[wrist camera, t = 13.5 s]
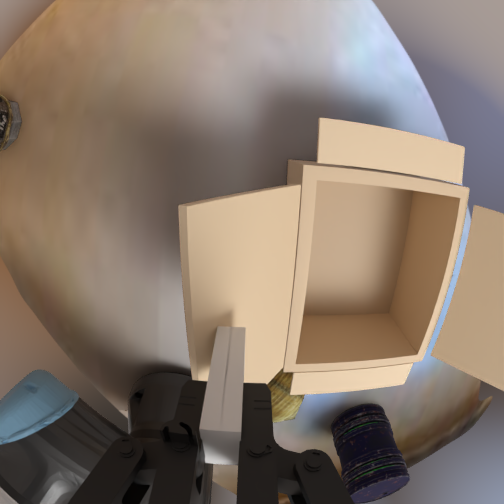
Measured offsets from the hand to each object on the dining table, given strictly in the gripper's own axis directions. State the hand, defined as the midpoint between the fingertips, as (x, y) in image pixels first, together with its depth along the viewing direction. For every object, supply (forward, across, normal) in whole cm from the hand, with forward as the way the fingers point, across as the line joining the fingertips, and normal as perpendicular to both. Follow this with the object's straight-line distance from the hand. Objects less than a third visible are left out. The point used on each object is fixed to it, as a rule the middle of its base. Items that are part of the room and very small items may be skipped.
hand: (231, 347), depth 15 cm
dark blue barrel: (+17, +20, -31) cm, 41 cm away
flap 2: (+7, +20, 0) cm, 21 cm away
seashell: (+17, +7, -17) cm, 25 cm away
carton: (+17, +12, 0) cm, 20 cm away
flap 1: (+7, +4, 0) cm, 8 cm away
